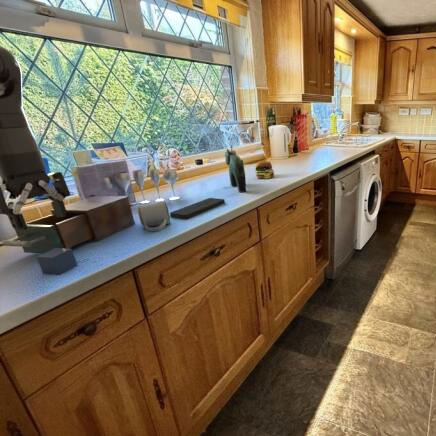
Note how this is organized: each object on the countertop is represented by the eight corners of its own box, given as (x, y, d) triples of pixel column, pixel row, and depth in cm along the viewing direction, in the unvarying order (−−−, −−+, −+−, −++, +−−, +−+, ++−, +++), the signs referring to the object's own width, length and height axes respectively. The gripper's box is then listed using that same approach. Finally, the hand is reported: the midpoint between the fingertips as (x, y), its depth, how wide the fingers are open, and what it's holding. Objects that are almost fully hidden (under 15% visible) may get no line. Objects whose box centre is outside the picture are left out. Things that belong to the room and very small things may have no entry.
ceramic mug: (143, 223, 101) (138, 201, 98) (170, 219, 105) (165, 197, 102) (141, 234, 92) (135, 211, 90) (171, 229, 96) (165, 206, 93)
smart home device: (225, 198, 120) (185, 214, 103) (226, 203, 121) (186, 219, 104) (209, 197, 124) (168, 212, 106) (210, 201, 124) (169, 217, 107)
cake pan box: (132, 199, 131) (121, 158, 125) (139, 200, 129) (129, 159, 123) (82, 213, 114) (68, 166, 108) (90, 214, 112) (76, 167, 106)
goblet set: (104, 209, 118) (94, 175, 113) (106, 205, 122) (97, 173, 118) (182, 198, 129) (176, 168, 125) (181, 195, 134) (176, 165, 130)
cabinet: (97, 241, 88) (87, 210, 85) (61, 240, 90) (50, 209, 87) (135, 223, 102) (127, 196, 98) (103, 222, 104) (94, 195, 100)
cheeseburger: (258, 180, 158) (255, 161, 157) (254, 181, 168) (251, 163, 167) (277, 177, 162) (273, 158, 161) (272, 178, 172) (269, 161, 171)
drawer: (40, 263, 74) (28, 234, 71) (3, 261, 76) (-10, 232, 73) (104, 234, 91) (96, 209, 88) (72, 233, 93) (64, 209, 90)
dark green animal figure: (228, 184, 151) (222, 144, 144) (241, 183, 154) (235, 143, 147) (236, 193, 134) (230, 147, 128) (251, 191, 137) (245, 146, 130)
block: (43, 273, 71) (35, 256, 69) (62, 264, 75) (55, 247, 74) (59, 275, 70) (52, 257, 68) (77, 265, 74) (71, 248, 73)
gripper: (36, 146, 70) (60, 212, 76) (-44, 155, 57) (-8, 234, 63) (63, 146, 69) (85, 213, 74) (-12, 155, 56) (21, 236, 61)
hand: (42, 222), depth 68 cm, fingers open, 8 cm apart
